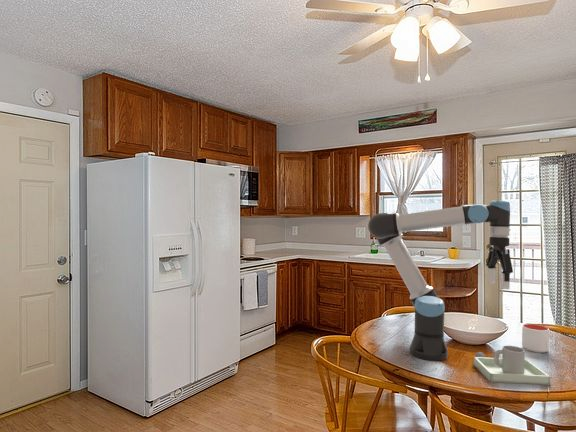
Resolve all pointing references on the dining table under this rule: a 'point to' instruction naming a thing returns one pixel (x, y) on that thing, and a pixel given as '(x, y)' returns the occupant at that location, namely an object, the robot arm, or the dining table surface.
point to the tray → (497, 375)
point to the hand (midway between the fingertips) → (498, 286)
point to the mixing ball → (479, 354)
